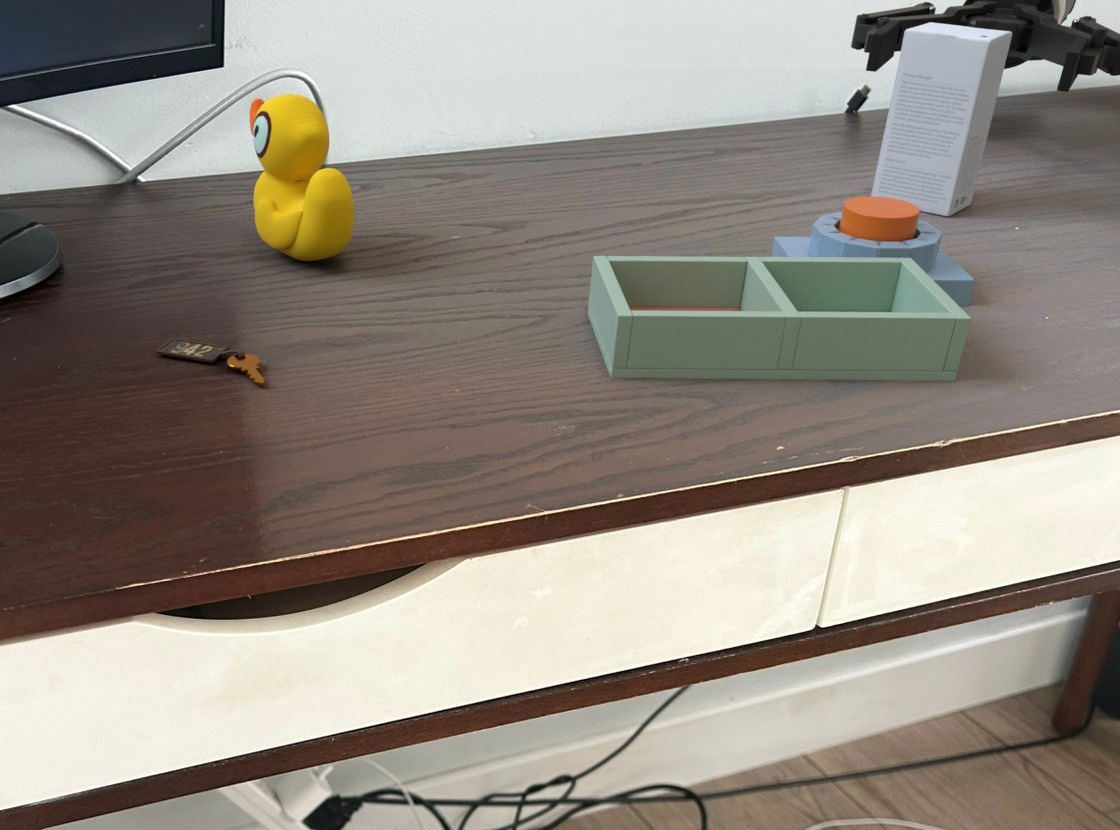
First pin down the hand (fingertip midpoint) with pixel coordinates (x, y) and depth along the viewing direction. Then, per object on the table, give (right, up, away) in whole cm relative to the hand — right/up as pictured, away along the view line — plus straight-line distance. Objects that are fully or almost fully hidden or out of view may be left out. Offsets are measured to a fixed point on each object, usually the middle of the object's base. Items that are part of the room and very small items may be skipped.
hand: (968, 62), depth 102 cm
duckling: (-50, -17, -11) cm, 54 cm away
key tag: (-55, -27, -27) cm, 67 cm away
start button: (-14, -18, -18) cm, 29 cm away
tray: (-24, -26, -25) cm, 43 cm away
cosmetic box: (-5, -11, -2) cm, 12 cm away
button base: (-14, -20, -16) cm, 30 cm away
